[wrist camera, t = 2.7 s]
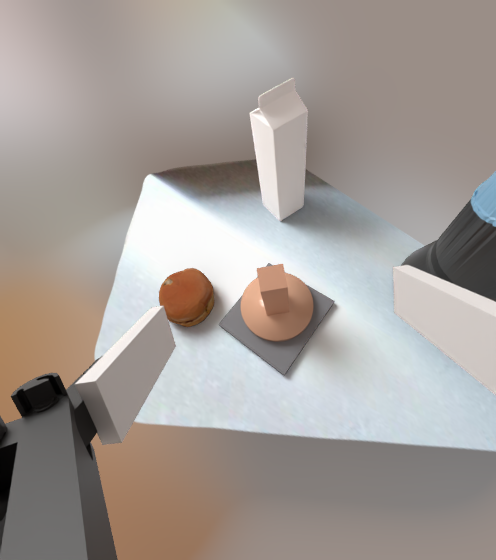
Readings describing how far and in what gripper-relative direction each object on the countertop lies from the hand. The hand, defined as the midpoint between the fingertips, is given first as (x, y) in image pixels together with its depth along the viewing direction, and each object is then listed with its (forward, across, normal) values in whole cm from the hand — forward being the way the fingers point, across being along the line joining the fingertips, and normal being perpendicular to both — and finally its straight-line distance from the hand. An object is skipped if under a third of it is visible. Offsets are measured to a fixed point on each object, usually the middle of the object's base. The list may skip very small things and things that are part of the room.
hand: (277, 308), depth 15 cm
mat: (+25, 0, -12) cm, 28 cm away
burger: (+29, -15, -9) cm, 34 cm away
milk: (+42, +5, +4) cm, 42 cm away
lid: (+26, 0, -11) cm, 28 cm away
